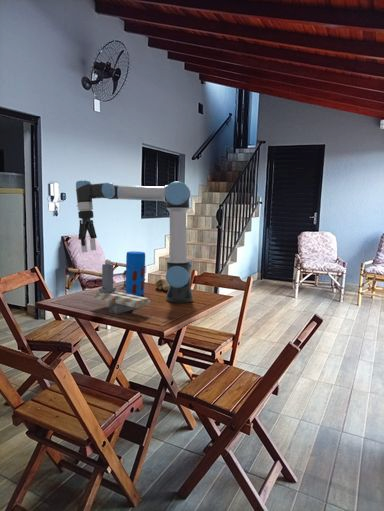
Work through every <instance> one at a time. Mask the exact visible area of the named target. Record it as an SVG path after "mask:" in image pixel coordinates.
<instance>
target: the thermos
mask: <svg viewBox="0 0 384 511" xmlns="http://www.w3.org/2000/svg"><path fill="white" fill-rule="evenodd" d="M125 256H126V259H125V270H126V278H125V279H126V286H125V293H126V294H131V295H135V296H140V297H143V296H144V295H145V280H146V278H145V277H146V252H144V251H135V250H133V251H127V252H126V255H125Z"/></svg>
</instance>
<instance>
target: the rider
mask: <svg viewBox="0 0 384 511" xmlns="http://www.w3.org/2000/svg"><path fill="white" fill-rule="evenodd" d="M101 266H102V267H101V273H102V275H101V288H98V291H99V292H102V293H107V292H108V293H111V292H112V291H116V292H117V287H115V286H114V264H112V262H111V259H109V258H107V259H105V260H104V263H103V264H102V265H101Z"/></svg>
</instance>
